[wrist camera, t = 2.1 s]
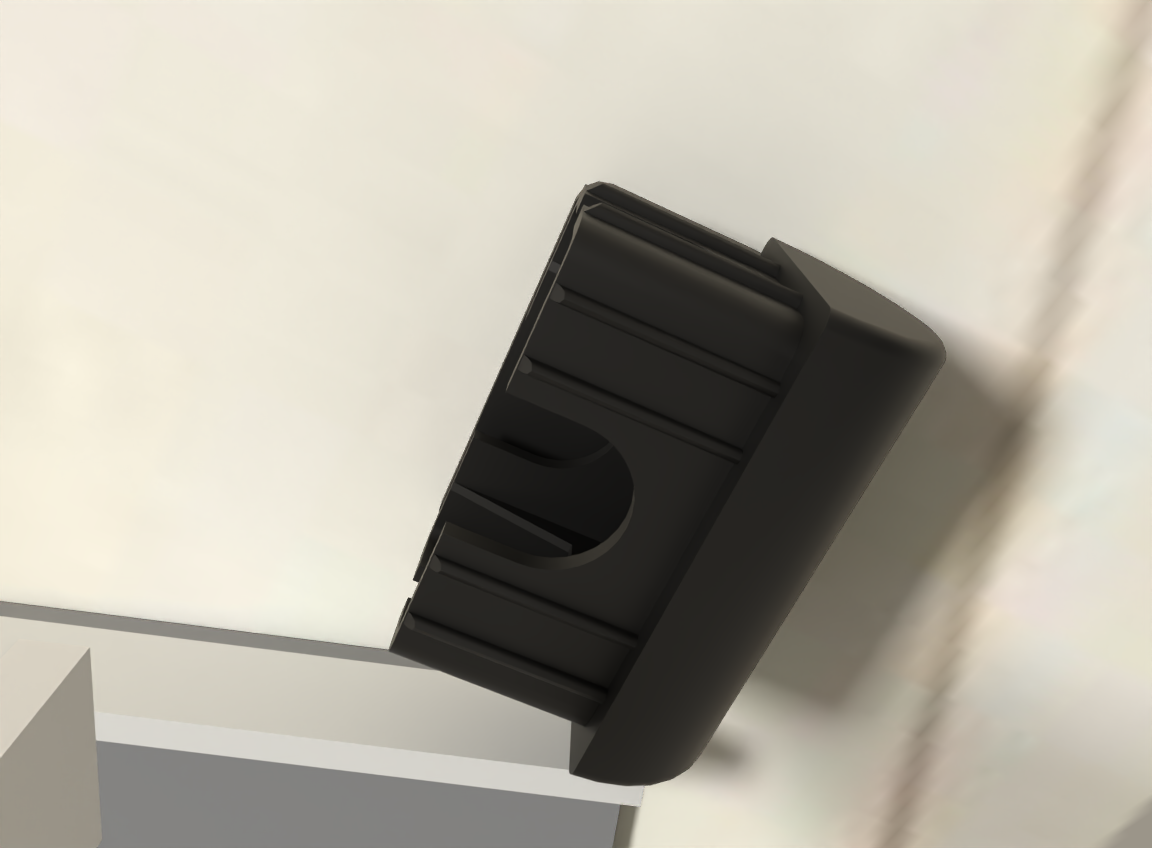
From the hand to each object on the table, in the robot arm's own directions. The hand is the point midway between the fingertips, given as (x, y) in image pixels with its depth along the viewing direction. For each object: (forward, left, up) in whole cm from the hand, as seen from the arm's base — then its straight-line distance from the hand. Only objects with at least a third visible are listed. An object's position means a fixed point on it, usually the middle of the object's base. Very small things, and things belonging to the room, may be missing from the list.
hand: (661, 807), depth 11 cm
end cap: (0, 0, -13) cm, 13 cm away
